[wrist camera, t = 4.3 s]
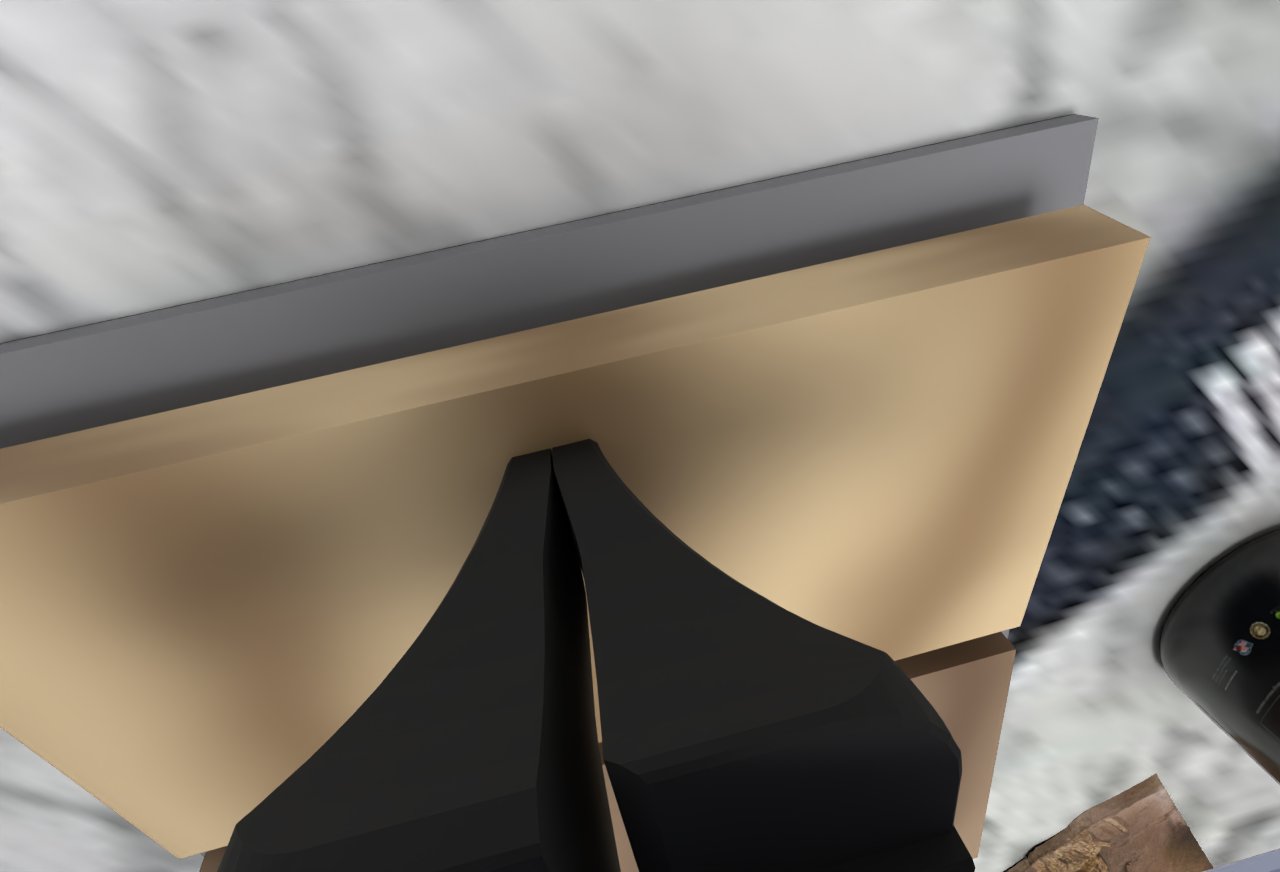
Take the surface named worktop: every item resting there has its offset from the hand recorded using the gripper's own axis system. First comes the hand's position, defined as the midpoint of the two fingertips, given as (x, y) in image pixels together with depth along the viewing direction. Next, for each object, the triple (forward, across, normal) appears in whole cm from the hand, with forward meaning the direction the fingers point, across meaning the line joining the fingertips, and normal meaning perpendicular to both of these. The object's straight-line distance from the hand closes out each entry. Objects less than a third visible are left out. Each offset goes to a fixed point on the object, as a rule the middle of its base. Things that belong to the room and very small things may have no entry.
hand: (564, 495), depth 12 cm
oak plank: (+2, 0, +3) cm, 3 cm away
